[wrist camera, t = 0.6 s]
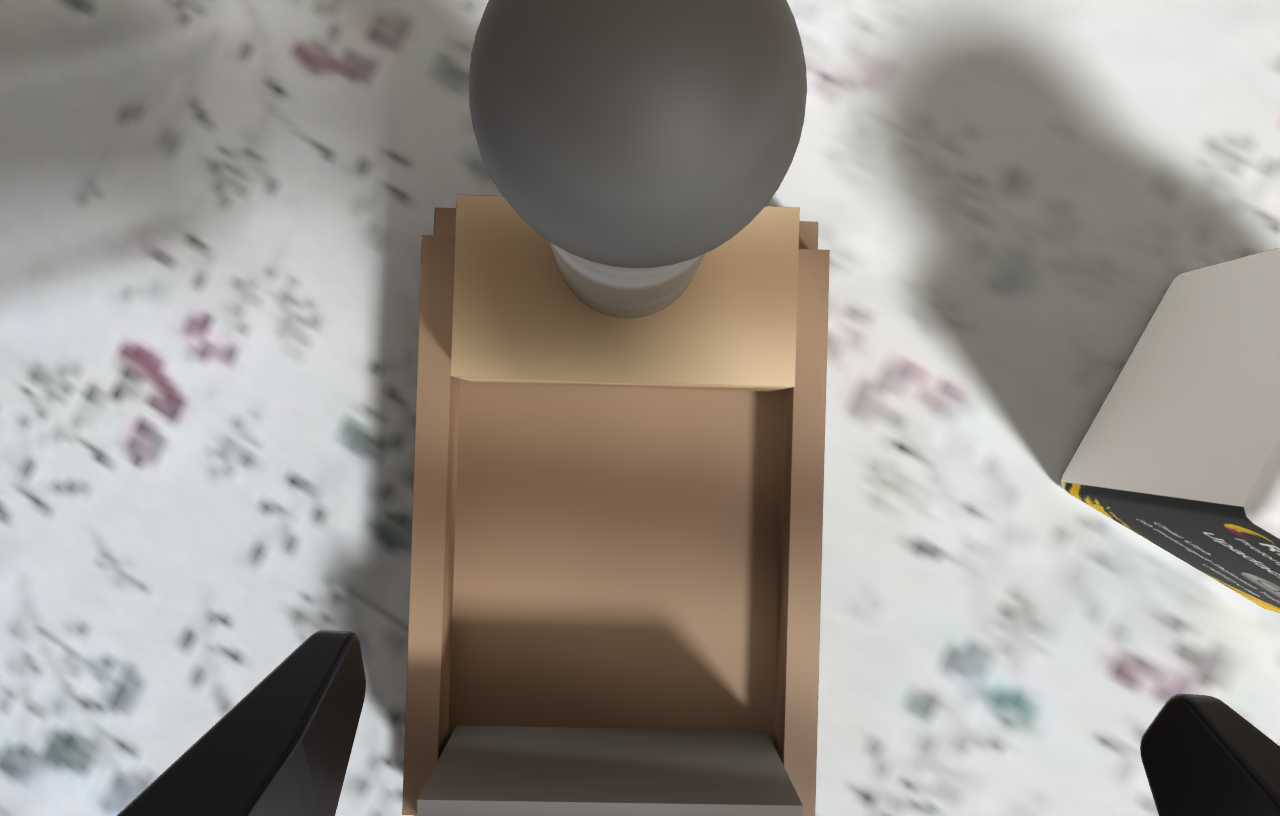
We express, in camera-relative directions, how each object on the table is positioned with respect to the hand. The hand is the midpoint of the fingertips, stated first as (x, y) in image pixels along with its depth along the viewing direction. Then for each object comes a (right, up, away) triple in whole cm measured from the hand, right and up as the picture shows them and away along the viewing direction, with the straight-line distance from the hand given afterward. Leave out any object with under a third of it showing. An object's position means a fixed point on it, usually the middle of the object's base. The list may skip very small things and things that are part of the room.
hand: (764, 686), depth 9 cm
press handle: (-2, +6, +12) cm, 13 cm away
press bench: (-2, 0, +13) cm, 13 cm away
